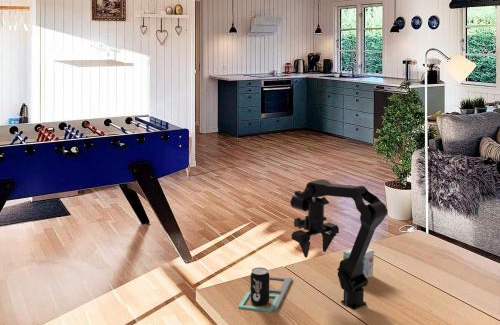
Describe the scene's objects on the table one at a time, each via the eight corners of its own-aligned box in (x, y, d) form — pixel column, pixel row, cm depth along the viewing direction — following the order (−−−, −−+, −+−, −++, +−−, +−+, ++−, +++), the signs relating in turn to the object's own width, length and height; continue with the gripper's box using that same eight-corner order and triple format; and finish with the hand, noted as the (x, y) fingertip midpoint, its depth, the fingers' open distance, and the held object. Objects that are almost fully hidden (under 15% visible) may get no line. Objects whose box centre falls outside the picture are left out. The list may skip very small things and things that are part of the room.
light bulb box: (354, 283, 210) (355, 256, 208) (341, 277, 216) (342, 251, 213) (373, 276, 217) (374, 250, 214) (360, 270, 222) (361, 245, 219)
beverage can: (271, 305, 193) (271, 273, 190) (253, 307, 191) (253, 275, 189) (266, 297, 199) (266, 266, 197) (248, 299, 198) (248, 268, 195)
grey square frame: (258, 276, 217) (258, 274, 217) (288, 279, 214) (288, 278, 213) (250, 289, 205) (250, 287, 205) (281, 293, 202) (281, 291, 202)
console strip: (269, 277, 215) (269, 275, 215) (292, 280, 213) (292, 277, 213) (250, 309, 190) (250, 306, 190) (276, 312, 188) (276, 310, 188)
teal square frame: (247, 292, 203) (247, 291, 202) (279, 296, 199) (279, 295, 199) (238, 307, 191) (238, 306, 191) (272, 312, 188) (272, 310, 188)
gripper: (319, 204, 213) (318, 242, 216) (282, 213, 202) (281, 253, 205) (340, 211, 204) (339, 251, 207) (302, 221, 193) (301, 263, 196)
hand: (315, 254), depth 204 cm, fingers open, 9 cm apart
